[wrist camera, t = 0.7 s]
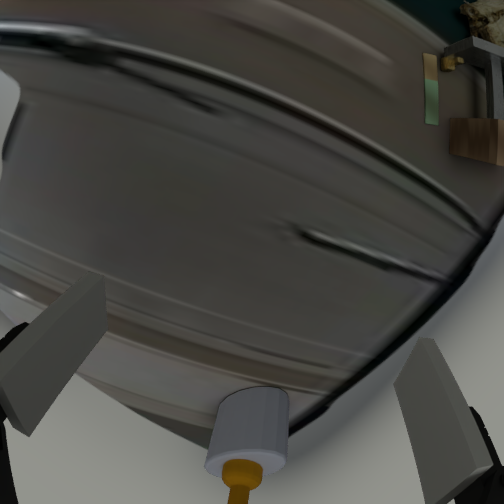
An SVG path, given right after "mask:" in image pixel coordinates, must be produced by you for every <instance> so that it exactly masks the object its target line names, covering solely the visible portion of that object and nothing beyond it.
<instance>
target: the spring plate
mask: <svg viewBox="0 0 504 504" xmlns="http://www.w3.org/2000/svg"><path fill="white" fill-rule="evenodd" d="M444 56H445V57H446V56H449V57H452V58H455V57H460V58H463V61H464V63H468V64H471V65H474V66H477V67H480V68H483V69H485V79H486V99H487V119H500V120H504V104H503V83H502V75H503V76H504V48H503V47H501V46H498V45H496V44H493V43H491V42H488V41H485V40H483V39H480V38H477V37H474V36H471V37H468V38H466V39H464V40H461V41H459V42H457V43H454V44H452V45H450V46H448V47H445V48H444Z"/></svg>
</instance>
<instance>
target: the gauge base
mask: <svg viewBox="0 0 504 504" xmlns="http://www.w3.org/2000/svg"><path fill="white" fill-rule="evenodd" d="M422 54H423V68H424V91H425V123H427V124H433V125H438V121H439V108H438V76H437V60H436V56H435V55H431V54H426V53H422ZM449 154H453V155H458V156H463V157H467V158H471V159H476V160H480V161H484V162H488V163H492V164H495V165H500V166H504V120H500V119H487V118H450V147H449Z"/></svg>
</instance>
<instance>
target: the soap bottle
mask: <svg viewBox="0 0 504 504" xmlns="http://www.w3.org/2000/svg"><path fill="white" fill-rule="evenodd" d="M288 422H289V399H288V395H287V393H286V392H284V391H283V390H281V389H279V388H274V387H268V386H267V387H253V388H249V389H245V390H241V391H238V392H236V393H234V394H232V395H230V396H228V397H227V398H226V399H225V400H224V401H223V402H222V403H221V404H220V406H219V409H218V413H217V417H216V421H215V425H214V429H213V433H212V437H211V441H210V445H209V449H208V453H207V457H206V461H205V465H204V467H205V469H206V470H207V472H208V473H210V474H212V475H214V476H217V477H221V478H222V480H223V481H224V483H225V484H226V485H227V486H228V487H229V488H230V493H229V499H228V504H248V499H249V491H250V490H253V489H255V488H256V487H258V486H259V485H260V484H261V481H262V477H263V476H266V475H269V474H273V473H274V472H276V471H278V470H280V469H282V467H283V466H284V465H285V463H286V461H287V449H288Z"/></svg>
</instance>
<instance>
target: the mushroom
mask: <svg viewBox="0 0 504 504" xmlns="http://www.w3.org/2000/svg"><path fill="white" fill-rule="evenodd" d="M464 2H465V3H467V4H463V5H461V6H460V10H461V13H462V14H464V15H467V17H468V22H469V29H470V32H471V36H474V37H477V38H480V39H483V40H485V41H488V42H491V43H493V44H496V45H498V46H501V47H503V48H504V0H477V1H476V2H474V3H471V4H469V2H466V1H464ZM461 13H460V14H461Z"/></svg>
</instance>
